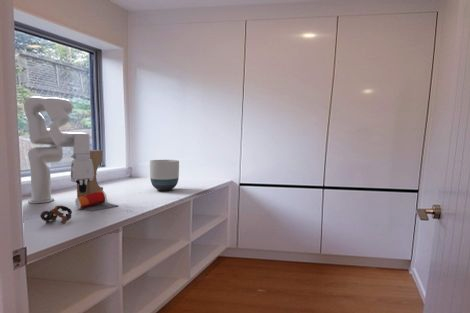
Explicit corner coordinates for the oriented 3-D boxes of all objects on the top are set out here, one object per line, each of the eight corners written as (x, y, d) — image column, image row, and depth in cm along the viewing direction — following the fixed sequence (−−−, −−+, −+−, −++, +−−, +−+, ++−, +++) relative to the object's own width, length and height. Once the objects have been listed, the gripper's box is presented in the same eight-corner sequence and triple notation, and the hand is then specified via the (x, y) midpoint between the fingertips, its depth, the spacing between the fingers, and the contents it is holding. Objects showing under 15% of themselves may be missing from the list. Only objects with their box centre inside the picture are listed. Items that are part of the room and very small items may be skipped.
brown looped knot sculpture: (60, 219, 139) (68, 204, 138) (68, 231, 134) (77, 216, 133) (33, 218, 129) (42, 202, 128) (41, 231, 124) (50, 215, 123)
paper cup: (74, 206, 158) (99, 199, 169) (81, 213, 154) (106, 205, 166) (74, 193, 156) (100, 187, 167) (82, 200, 152) (107, 193, 163)
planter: (151, 188, 224) (151, 159, 222) (179, 187, 227) (179, 159, 226) (148, 193, 204) (148, 161, 202) (179, 192, 207) (179, 161, 206)
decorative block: (89, 204, 167) (88, 151, 165) (76, 204, 167) (75, 150, 165) (103, 199, 182) (102, 150, 180) (91, 199, 182) (90, 149, 180)
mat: (78, 207, 160) (78, 206, 160) (105, 202, 172) (105, 201, 172) (91, 211, 152) (91, 210, 152) (118, 206, 163) (118, 205, 163)
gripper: (69, 158, 145) (70, 195, 146) (99, 156, 157) (100, 191, 158) (63, 157, 150) (64, 193, 151) (92, 156, 162) (93, 189, 163)
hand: (82, 192), depth 155 cm, fingers closed
